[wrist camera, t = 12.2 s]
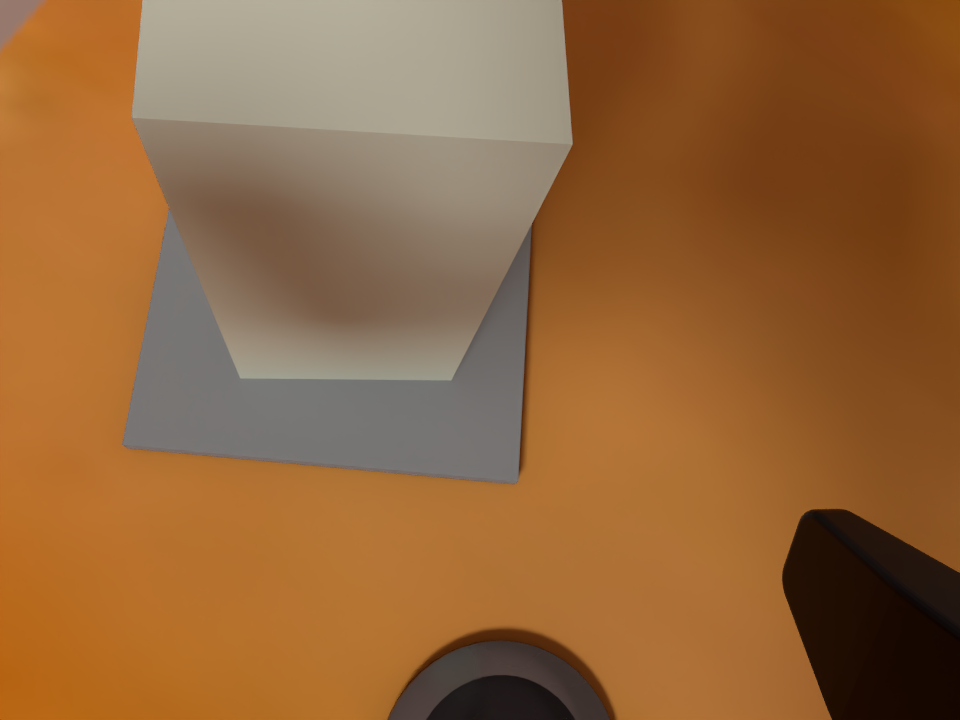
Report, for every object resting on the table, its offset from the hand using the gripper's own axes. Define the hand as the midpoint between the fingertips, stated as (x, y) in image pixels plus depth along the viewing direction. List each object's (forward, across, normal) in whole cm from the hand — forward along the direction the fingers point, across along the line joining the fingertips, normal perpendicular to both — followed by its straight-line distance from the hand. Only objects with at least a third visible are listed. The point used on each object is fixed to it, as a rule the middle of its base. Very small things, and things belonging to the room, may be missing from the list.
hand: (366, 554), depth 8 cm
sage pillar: (+15, 0, +4) cm, 15 cm away
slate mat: (+15, 0, +4) cm, 16 cm away
